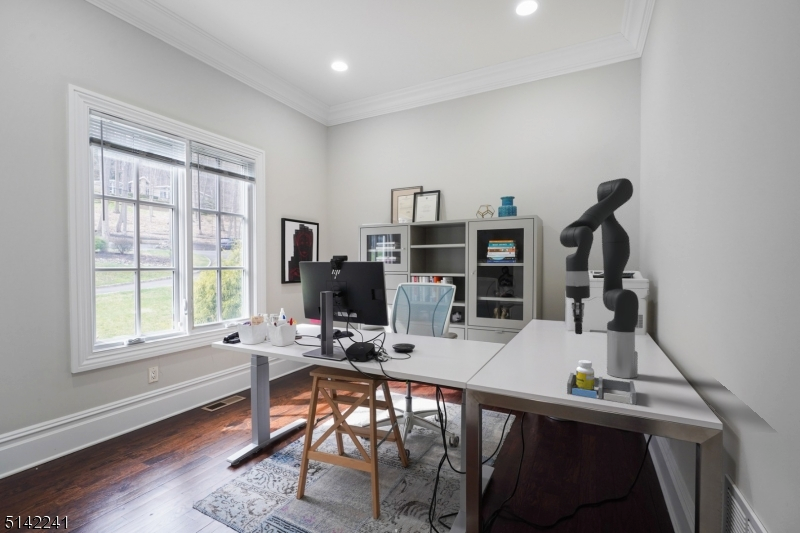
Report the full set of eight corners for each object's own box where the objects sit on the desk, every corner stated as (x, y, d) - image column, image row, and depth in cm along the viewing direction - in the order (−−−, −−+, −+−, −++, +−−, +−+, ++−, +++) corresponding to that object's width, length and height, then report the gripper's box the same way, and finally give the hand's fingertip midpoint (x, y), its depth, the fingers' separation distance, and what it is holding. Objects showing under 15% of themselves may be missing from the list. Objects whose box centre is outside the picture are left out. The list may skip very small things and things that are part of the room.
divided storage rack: (633, 391, 120) (633, 381, 120) (636, 404, 109) (636, 393, 109) (570, 382, 130) (570, 372, 130) (567, 393, 118) (567, 382, 118)
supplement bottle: (572, 387, 124) (573, 359, 124) (587, 387, 124) (588, 359, 124) (582, 393, 119) (582, 363, 119) (597, 392, 119) (597, 363, 119)
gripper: (566, 283, 133) (568, 329, 133) (564, 285, 121) (565, 336, 121) (589, 283, 129) (590, 331, 130) (589, 285, 118) (590, 338, 118)
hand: (578, 333), depth 125 cm, fingers closed
